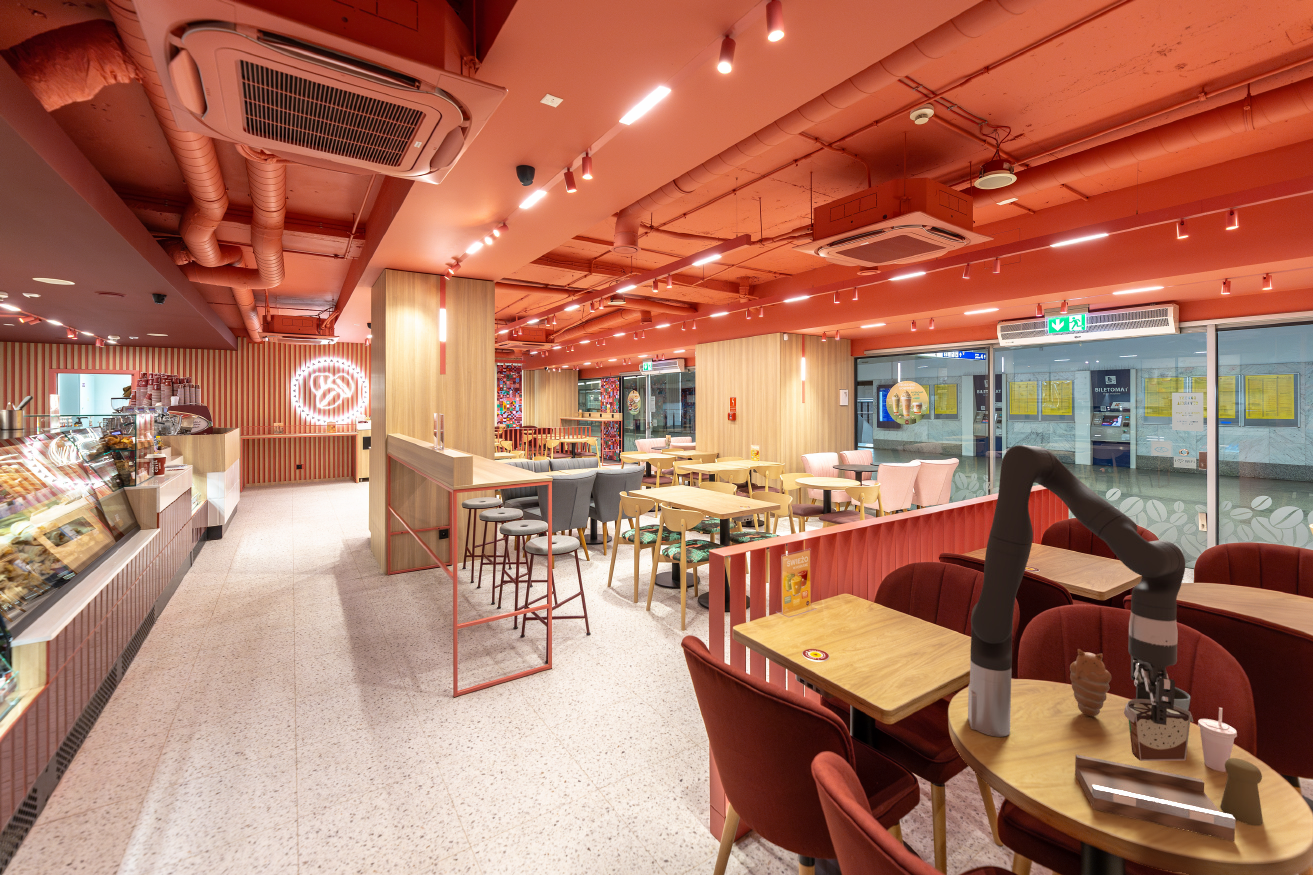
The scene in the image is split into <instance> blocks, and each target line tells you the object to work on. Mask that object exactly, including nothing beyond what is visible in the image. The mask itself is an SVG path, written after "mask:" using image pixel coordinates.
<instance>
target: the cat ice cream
mask: <svg viewBox="0 0 1313 875" xmlns="http://www.w3.org/2000/svg"><path fill="white" fill-rule="evenodd" d="M1103 655H1104V654H1103V653H1097V654H1095V653H1092V652H1088V651H1086V652H1085V651H1083V650H1081V649H1080V648H1077V656H1076V660H1075V661H1073V662H1072V663H1071V664H1070V666H1069V671H1070V674H1069V675H1070V676H1069V679H1070V681H1071V688H1072V691H1073V695H1074V696H1073V697H1074V698H1075V701H1076V702H1077V707H1078V710H1079V711H1080V712H1081V713H1082V714H1083V715H1085V716H1088V717H1096V716H1098V715H1099V714H1100V712H1101V709H1103V707H1104V702H1105V701H1107V693H1108V691H1110V685H1109V683H1110V682H1111V681H1112V674H1111V673H1110V671H1108V670H1107V669H1106V665H1105V663H1104V662H1103Z"/></svg>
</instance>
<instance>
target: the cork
mask: <svg viewBox="0 0 1313 875" xmlns="http://www.w3.org/2000/svg"><path fill="white" fill-rule="evenodd" d="M1225 769H1226V771H1225V772H1226V773H1227V778H1226V782H1225V785H1224V789H1223V794H1222V798H1221V800H1220V806H1219V807H1220V811H1221V812H1222V813H1227V814H1231V815H1233V817H1234V818H1235V821H1237V822H1240V823H1243V824H1246V825H1250V826H1259V827H1260V826H1262V825H1263V824H1264V819H1263V818H1264V817H1263V813H1262V812H1263V810H1262V804H1261V798H1260V791H1259V784H1260V783H1261V782H1262V779H1263V775H1262V771H1261V770H1260V769H1259V767H1257V766H1256V765H1255V764H1253V763H1251V762H1249V761H1248V760H1244V759H1242V758H1241V759H1240V758H1235V757H1230V759H1228V760H1227V761H1226V762H1225Z"/></svg>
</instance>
